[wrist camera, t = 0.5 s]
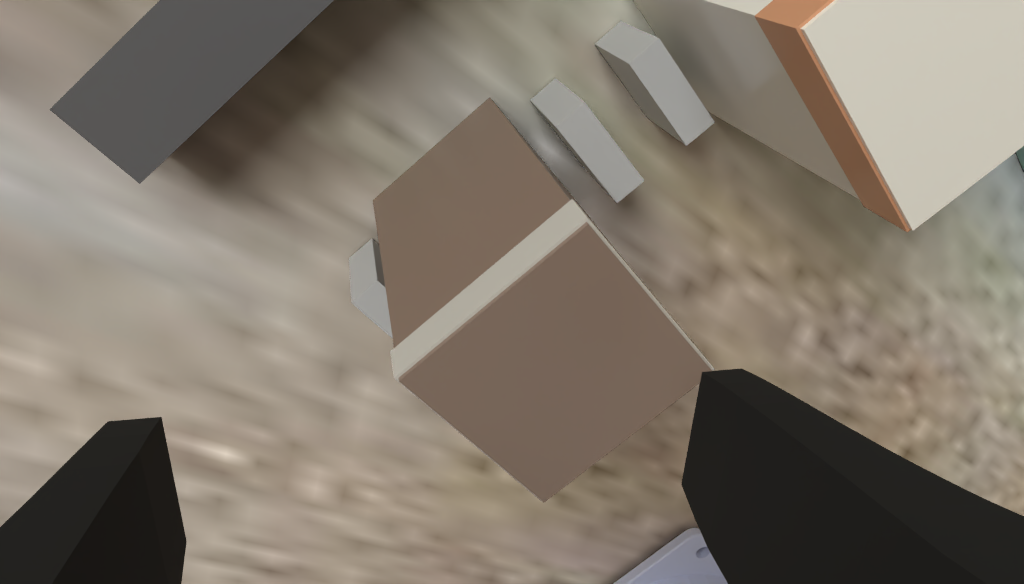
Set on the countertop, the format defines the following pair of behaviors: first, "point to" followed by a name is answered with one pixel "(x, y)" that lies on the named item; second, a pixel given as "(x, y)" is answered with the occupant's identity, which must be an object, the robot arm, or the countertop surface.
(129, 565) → the robot arm
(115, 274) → the countertop surface
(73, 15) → the countertop surface
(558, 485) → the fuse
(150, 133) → the clip block
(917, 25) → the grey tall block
